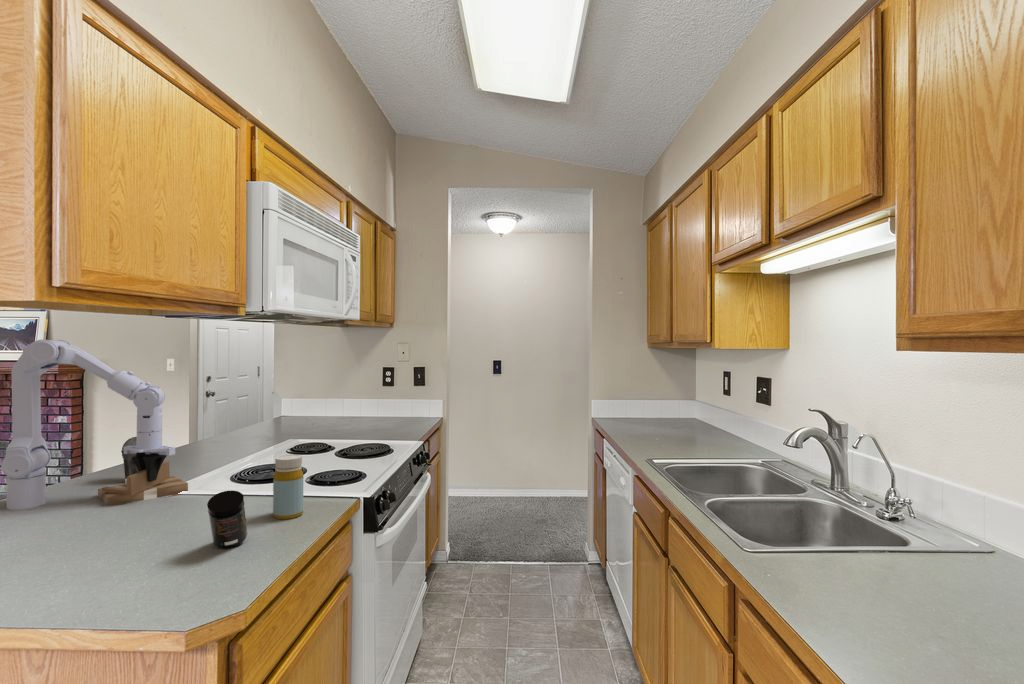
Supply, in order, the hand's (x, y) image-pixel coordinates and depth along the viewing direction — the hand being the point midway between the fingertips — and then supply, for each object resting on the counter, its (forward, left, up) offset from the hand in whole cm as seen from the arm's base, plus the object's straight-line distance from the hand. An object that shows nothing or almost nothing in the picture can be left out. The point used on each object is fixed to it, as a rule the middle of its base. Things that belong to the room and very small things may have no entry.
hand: (149, 480), depth 139 cm
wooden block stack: (0, 0, -6) cm, 6 cm away
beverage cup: (-21, +2, -6) cm, 22 cm away
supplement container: (+49, +2, -6) cm, 50 cm away
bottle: (+39, +20, -6) cm, 44 cm away
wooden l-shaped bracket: (0, 0, -2) cm, 2 cm away
